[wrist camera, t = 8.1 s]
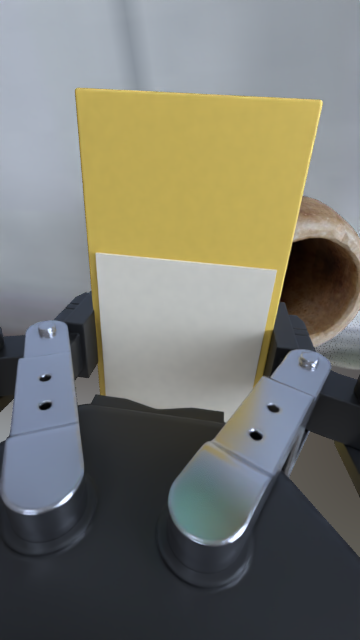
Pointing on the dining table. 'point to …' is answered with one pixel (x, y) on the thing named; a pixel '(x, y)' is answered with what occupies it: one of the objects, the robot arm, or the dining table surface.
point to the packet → (189, 237)
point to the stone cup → (322, 271)
